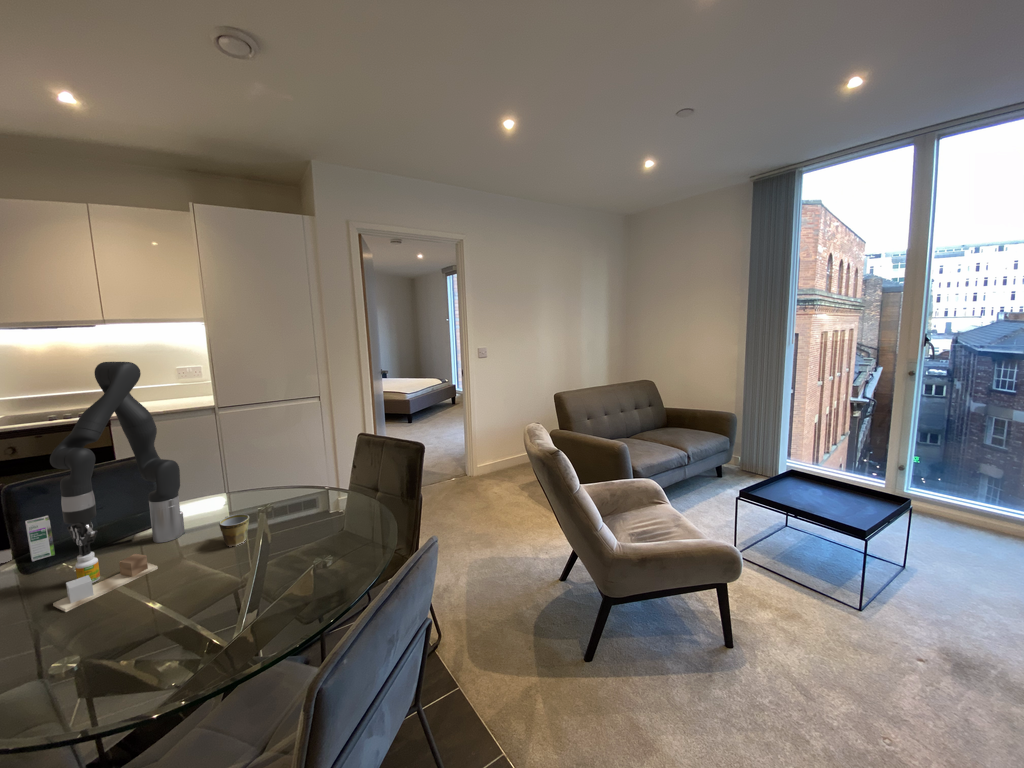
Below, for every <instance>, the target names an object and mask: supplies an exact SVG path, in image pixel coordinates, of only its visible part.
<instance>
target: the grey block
mask: <svg viewBox="0 0 1024 768" xmlns="http://www.w3.org/2000/svg"><path fill="white" fill-rule="evenodd" d="M92 585H93V583H92V580H91V578H90V577H89V575H87V576H84V577H81V578H78V579H77V578H76V579H73V580H69V581H67V582H65V586H66V593H67V597H68V598H69V600H70V603H74V602H77V601H79V600H82V599H85V598H87V597H90V596H93V595H94V593H93V586H92Z"/></svg>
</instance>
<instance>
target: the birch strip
mask: <svg viewBox="0 0 1024 768" xmlns="http://www.w3.org/2000/svg"><path fill="white" fill-rule="evenodd" d="M147 565H148V569H146V570H144V571H142V572H141V573H139V574H137V575H135V576H133V577H130V576H124V575H121V573H117V574H115V575H113V576H110V577H108V578H105V579H104V580H102V581H100V582H97V583H95V584H92V586H93V593H94V595H93V596H90V597H87V598H85V599H82V600H79V601H77V602H74V603H70V600H69V598H68V596H66V597H63V598H62V599H61V598H60V600H57V601H54V602H53V603H52V604H53V605H52V606H53V607H55V608H57V609H59V610H61V611H62V612H65V613H67V612H69V611H71V610H74V609H76V608H77V607H79V606H81V605H82V606H83V604H86V603H88V602H90V601H92V600H95V599H97V598H98V597H101V596H103V595H105V594H107V593H110V592H111V591H113V590H116V589H118V588H120V587H122V586H124V585H126V584H128V583H131V582H132V581H134V580H137V579H140V578H141V577H143V576H146V575H147V574H148V575H149V574H150V573H152V572H154V571H156V570H158V565H156V564H153V563H150V562H147Z"/></svg>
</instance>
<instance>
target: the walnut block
mask: <svg viewBox="0 0 1024 768" xmlns="http://www.w3.org/2000/svg"><path fill="white" fill-rule="evenodd" d="M147 563H148V558H147V555H146V554H138V553H133V554H132V555H129V556H128V557H125V558H124V559H122V560H120V561H119V562H118V564H119V572H120V573H121V575H124V576H130V577H133V576H135V575H137V574H139V573H141V572H142V571H144V570H146V569H148V565H147Z"/></svg>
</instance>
